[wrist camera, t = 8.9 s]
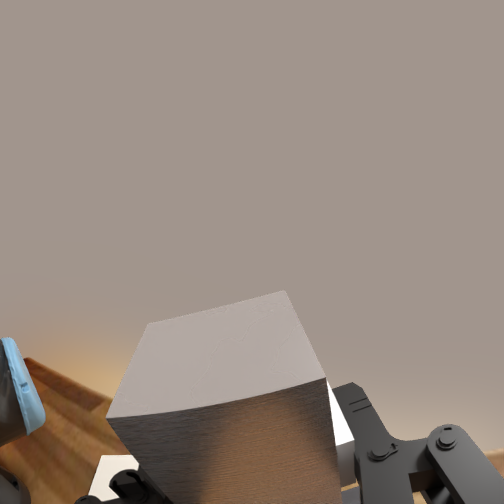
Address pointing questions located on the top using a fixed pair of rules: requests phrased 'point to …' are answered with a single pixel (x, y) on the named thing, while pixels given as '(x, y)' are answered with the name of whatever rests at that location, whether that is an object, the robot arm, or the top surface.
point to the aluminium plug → (230, 408)
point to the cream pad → (110, 474)
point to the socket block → (351, 496)
